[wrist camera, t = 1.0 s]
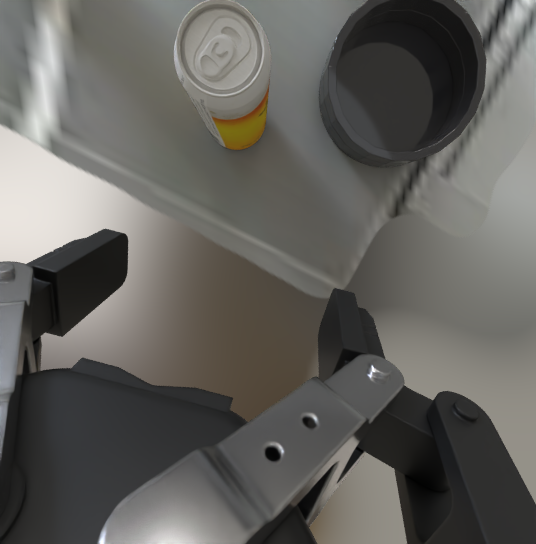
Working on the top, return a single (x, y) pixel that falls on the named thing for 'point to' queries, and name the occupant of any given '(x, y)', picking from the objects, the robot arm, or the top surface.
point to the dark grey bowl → (402, 80)
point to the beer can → (225, 70)
